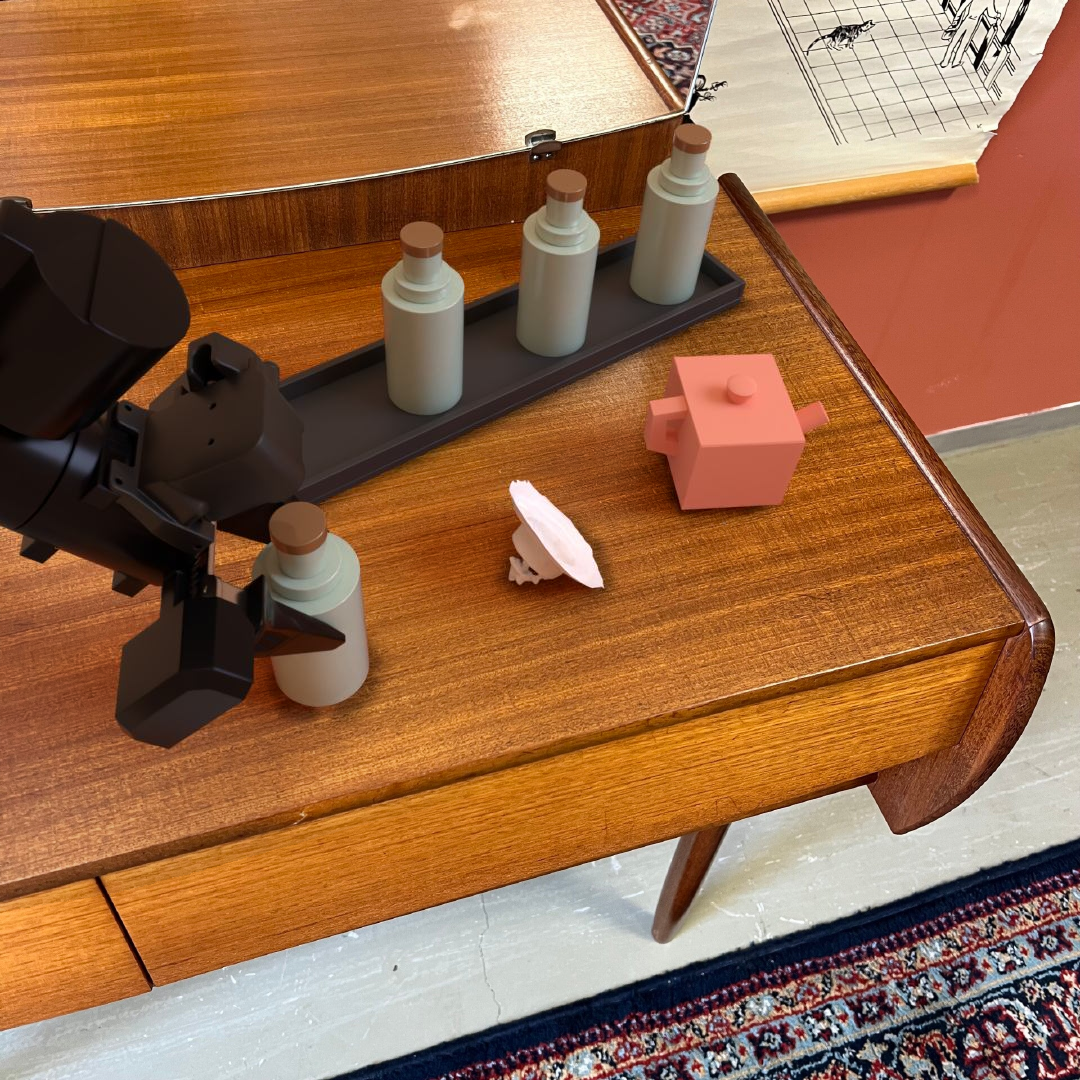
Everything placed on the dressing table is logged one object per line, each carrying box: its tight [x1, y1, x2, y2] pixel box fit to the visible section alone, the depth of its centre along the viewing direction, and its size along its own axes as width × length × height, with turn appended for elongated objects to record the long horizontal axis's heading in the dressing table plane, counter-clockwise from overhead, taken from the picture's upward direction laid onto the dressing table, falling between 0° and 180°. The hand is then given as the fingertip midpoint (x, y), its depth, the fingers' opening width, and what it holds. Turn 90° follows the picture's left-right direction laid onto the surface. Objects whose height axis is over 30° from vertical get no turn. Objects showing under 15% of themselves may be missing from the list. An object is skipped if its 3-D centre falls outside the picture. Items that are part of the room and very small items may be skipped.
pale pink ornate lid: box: [508, 479, 605, 589], centre depth 61 cm, size 8×5×8 cm
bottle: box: [250, 502, 370, 708], centre depth 51 cm, size 5×5×13 cm
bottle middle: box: [516, 168, 601, 357], centre depth 70 cm, size 5×5×13 cm
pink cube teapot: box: [643, 353, 830, 511], centre depth 65 cm, size 8×12×8 cm, turn 97°
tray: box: [279, 233, 747, 506], centre depth 72 cm, size 42×9×2 cm, turn 127°
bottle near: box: [380, 221, 465, 415], centre depth 66 cm, size 5×5×13 cm
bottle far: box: [629, 123, 720, 305], centre depth 74 cm, size 5×5×13 cm
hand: (338, 597), depth 51 cm, fingers closed on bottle, 5 cm apart
